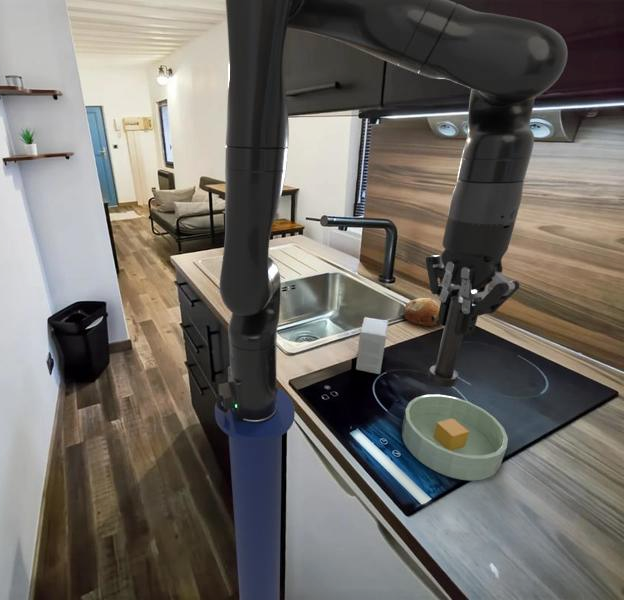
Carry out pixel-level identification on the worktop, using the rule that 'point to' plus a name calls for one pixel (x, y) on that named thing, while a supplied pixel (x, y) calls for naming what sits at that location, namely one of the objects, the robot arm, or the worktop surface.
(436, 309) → the bread roll
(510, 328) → the worktop surface
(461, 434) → the block
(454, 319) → the rod
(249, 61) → the robot arm
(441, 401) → the bowl
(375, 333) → the small box
